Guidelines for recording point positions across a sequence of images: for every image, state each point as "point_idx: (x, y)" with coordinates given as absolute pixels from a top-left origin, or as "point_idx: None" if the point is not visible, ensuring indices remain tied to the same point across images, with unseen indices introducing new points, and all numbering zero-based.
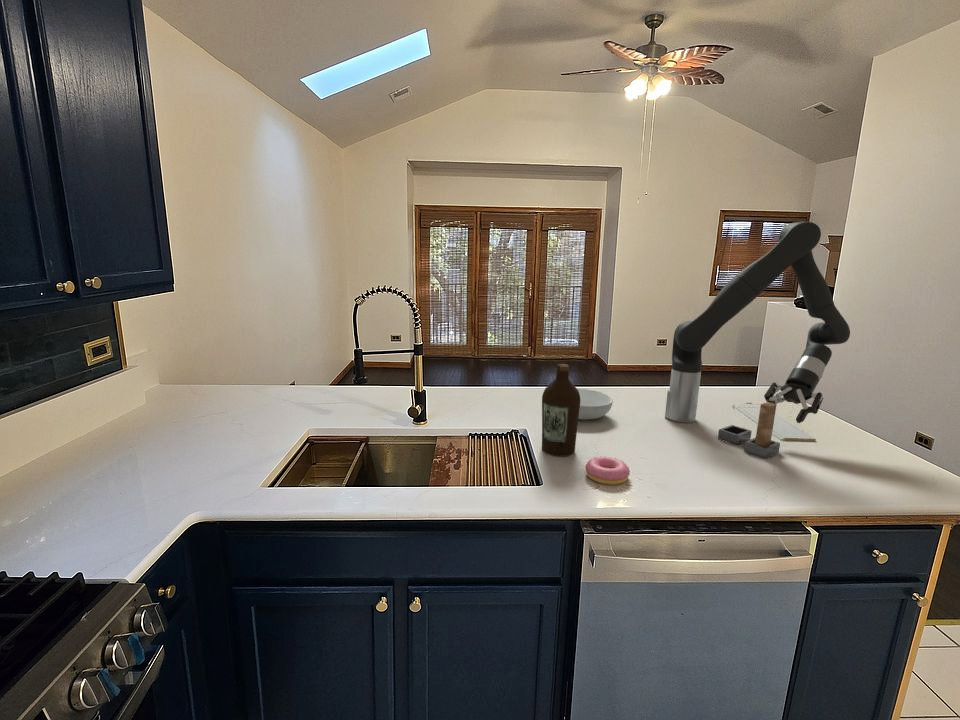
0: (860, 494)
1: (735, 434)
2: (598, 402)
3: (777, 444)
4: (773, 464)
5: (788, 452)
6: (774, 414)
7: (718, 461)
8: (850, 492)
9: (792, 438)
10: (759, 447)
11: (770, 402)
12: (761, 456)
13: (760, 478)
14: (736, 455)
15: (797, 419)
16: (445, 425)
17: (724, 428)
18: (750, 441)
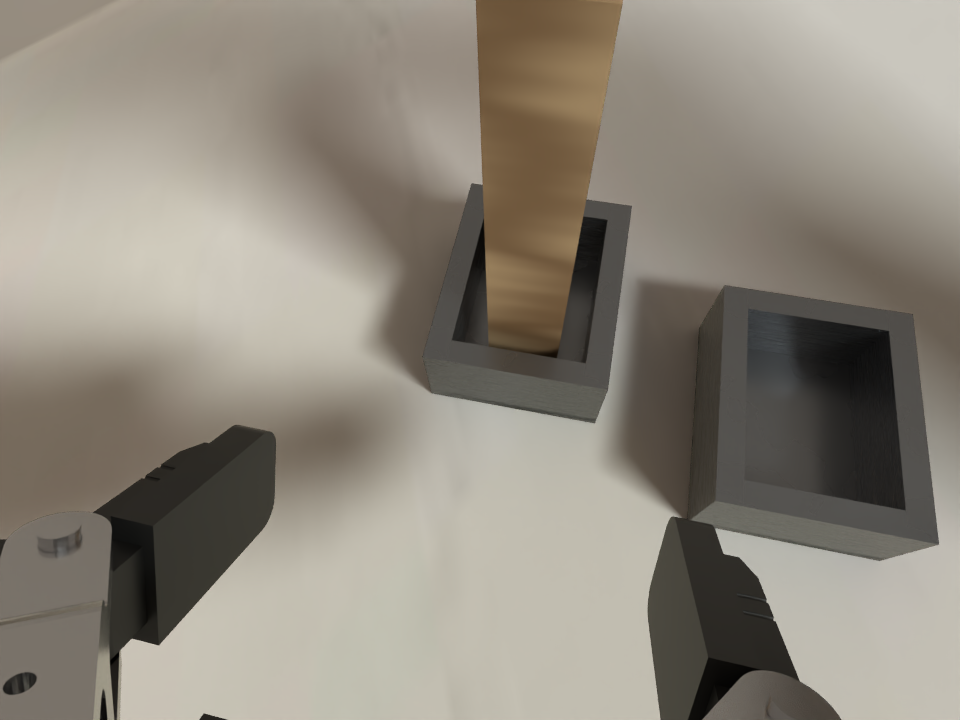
0: (20, 132)
1: (757, 297)
2: None
3: (434, 318)
4: (418, 189)
5: (373, 457)
6: (484, 117)
7: (651, 51)
8: (62, 124)
9: None
10: None
11: (746, 646)
12: None
13: (432, 17)
14: (622, 172)
15: (254, 431)
16: None
17: (904, 375)
18: (606, 233)
